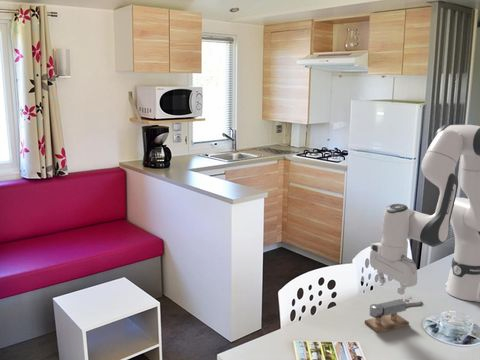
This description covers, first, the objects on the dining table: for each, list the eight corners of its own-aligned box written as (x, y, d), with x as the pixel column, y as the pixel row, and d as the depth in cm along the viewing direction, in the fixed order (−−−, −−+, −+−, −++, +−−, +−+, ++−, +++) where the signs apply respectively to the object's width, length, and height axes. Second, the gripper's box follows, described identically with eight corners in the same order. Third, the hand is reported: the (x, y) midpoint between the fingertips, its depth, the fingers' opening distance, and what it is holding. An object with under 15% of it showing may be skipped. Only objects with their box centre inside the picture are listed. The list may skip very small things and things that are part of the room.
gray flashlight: (398, 305, 170) (398, 298, 170) (406, 311, 166) (407, 303, 166) (366, 313, 165) (367, 305, 164) (375, 318, 161) (375, 310, 160)
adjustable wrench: (378, 320, 171) (378, 315, 170) (365, 312, 176) (365, 308, 176) (423, 304, 183) (424, 300, 182) (410, 297, 188) (410, 293, 188)
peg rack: (395, 316, 173) (396, 304, 172) (408, 325, 166) (409, 312, 165) (364, 323, 167) (365, 311, 166) (377, 332, 161) (378, 320, 160)
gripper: (423, 260, 153) (420, 298, 156) (381, 240, 171) (379, 275, 174) (408, 263, 150) (405, 302, 153) (367, 243, 169) (365, 278, 172)
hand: (391, 288), depth 164 cm, fingers open, 8 cm apart
